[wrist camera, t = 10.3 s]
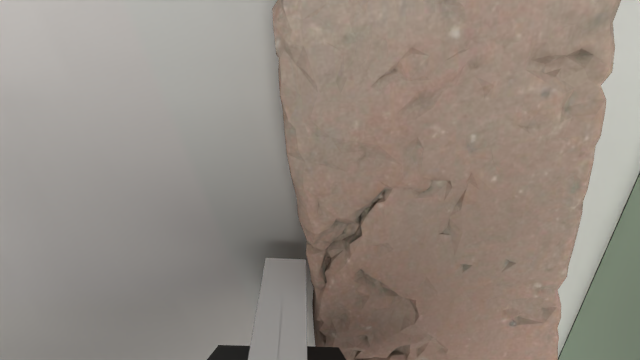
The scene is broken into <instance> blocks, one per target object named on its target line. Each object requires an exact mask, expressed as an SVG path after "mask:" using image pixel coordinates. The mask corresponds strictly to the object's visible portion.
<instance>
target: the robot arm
mask: <svg viewBox="0 0 640 360" xmlns="http://www.w3.org/2000/svg"><path fill="white" fill-rule="evenodd" d="M207 360H346V359H345V357H344V355H343V354H342V352H341V350H340V349H339V347H310V346H307V307H306V259H285V258H266V259H265V265H264V271H263V276H262V282H261V288H260V293H259V299H258V305H257V311H256V316H255V322H254V328H253V333H252V339H251V345H250V346H228V345H218V347H217V348H216V349H215V351H214V352H213V353H212V354H211V356H210V357H209V358H208V359H207Z"/></svg>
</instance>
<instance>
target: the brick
mask: <svg viewBox="0 0 640 360" xmlns="http://www.w3.org/2000/svg"><path fill="white" fill-rule="evenodd" d="M620 2H621V0H278V1H277V2H276V4H275V5H274V7H273V8H272V11H273V28H274V36H275V47H276V54H277V56H278V57H279V69H278V73H279V87H280V97H281V102H282V107H283V118H284V130H285V140H286V150H287V157H288V162H289V167H290V173H291V177H292V181H293V185H294V189H295V193H296V197H297V208H298V217H299V220H300V224H301V226H302V229H303V231H304V234H305V237H306V239H307V243H306V256H307V260H308V264H309V268H310V275H311V282H312V284H313V287H314V290H313V321H314V334H315V344H316V347H339V349H340V350H341V352H342V354H343V355H344V357H345V359H346V360H557V358H558V340H559V336H558V329H557V327H558V324H559V321H560V318H561V303H560V299H559V295H558V291H557V290H558V288H559V287H560V286H561V284H562V283H563V281H564V280H565V278H566V277H567V272H568V265H569V261H570V258H571V254H572V251H573V247H574V243H575V240H576V236H577V232H578V228H579V224H580V219H581V215H582V207H583V200H584V197H585V195H586V192H587V189H588V184H589V179H590V175H591V170H592V165H593V160H594V152H595V145H596V144H597V142H598V140H599V138H600V136H601V131H602V125H603V120H604V114H605V108H606V98H605V96H604V93H603V90H602V88H601V85H602V83H603V82H604V81H605V80H606V79H607V78H608V76H609V75H610V74H611V73H612V68H613V59H614V51H615V44H614V34H613V24H612V23H613V20H614V18H615V15H616V12H617V10H618V7H619V4H620Z"/></svg>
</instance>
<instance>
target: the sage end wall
mask: <svg viewBox="0 0 640 360" xmlns="http://www.w3.org/2000/svg"><path fill="white" fill-rule="evenodd" d="M558 360H640V175H639V177H638V179H637V182H636V184H635V186H634V189H633V191H632V193H631V195H630V198H629V200H628V202H627V205H626V207H625V209H624V211H623V214H622V216H621V218H620V220H619V223H618V225H617V227H616V230H615V232H614V234H613V236H612V239H611V241H610V243H609V246H608V248H607V250H606V252H605V255H604V257H603V259H602V261H601V264H600V266H599V268H598V271H597V273H596V275H595V277H594V280H593V282H592V284H591V287H590V289H589V291H588V293H587V296H586V298H585V300H584V302H583V305H582V307H581V309H580V312H579V314H578V316H577V318H576V321H575V323H574V325H573V328H572V330H571V332H570V334H569V337H568V339H567V341H566V343H565V346H564V348H563V350H562V353H561V355H560V357H559V359H558Z"/></svg>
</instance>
